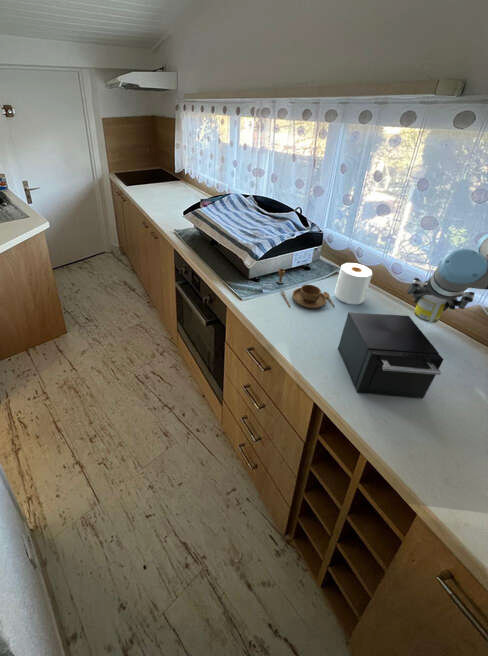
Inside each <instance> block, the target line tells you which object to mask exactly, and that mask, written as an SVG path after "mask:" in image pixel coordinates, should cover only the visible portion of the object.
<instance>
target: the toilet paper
mask: <svg viewBox="0 0 488 656" xmlns="http://www.w3.org/2000/svg"><path fill="white" fill-rule="evenodd" d="M372 277H373V270H372V269H371V268H370V267H368V266H366V265H364V264H360V263H357V262H345V263H343V264H341V266H340V270H339V273H338V277H337V281H336V286H335V289H334V297H335V298H336V299H338V300H339V301H340V302H343V303H345V304H348V305H360V304H362V303H364V301H365V298H366V296H367V292H368V289H369V286H370V283H371V280H372Z"/></svg>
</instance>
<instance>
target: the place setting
mask: <svg viewBox="0 0 488 656" xmlns="http://www.w3.org/2000/svg"><path fill="white" fill-rule="evenodd" d="M277 273H278V274H277V275H278V276H279V278H278V280H279V282H282V281H283V277H284V276H285V273H286V270H285V269H284V268H279V269H278V271H277ZM280 294H281V296H282V297H283V298H284V300H285V301H286V304H287V306H288V307H289V308H291V305H290V303H289V301H288V299H287V296H286V292H285V290H283V289H282V290H281V291H280ZM292 299H293V300H294V302H295V303H296V304H298V305H299V306H301V307H304V308H306V309H307V308H308V309H314V310H315V309H319V308H322V307H324V306H325V305H326V303H327V299H328V301H329V302H330V304H331V306H332V307H333V308H335V307H336V305H335V304H334V303H333V301H332V300H331V298H330V294H329V293H328V292H326V291H324V292H322V290H321V289H320V288H319V287H318V286H317V285H313V284H303V285H302V286H301V287H299V288H295V289H294V290H293V291H292Z"/></svg>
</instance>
